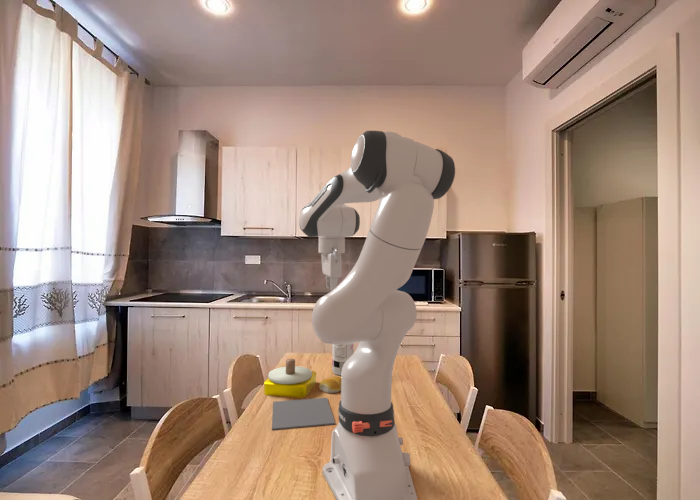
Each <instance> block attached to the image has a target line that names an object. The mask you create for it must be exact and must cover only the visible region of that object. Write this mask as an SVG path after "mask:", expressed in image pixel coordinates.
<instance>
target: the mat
mask: <svg viewBox="0 0 700 500" xmlns="http://www.w3.org/2000/svg"><path fill="white" fill-rule="evenodd" d="M271 417H272V419H271V420H272V423H271V430H272V431H274V430H276V431H277V430H287V429H288V430H289V429H297V428H308V427H319V426H321V427H322V426H331V425H336V421H335V418H334V415H333V412H332V409H331V407H330V403H329V400H328V397H318V398H317V397H315V398H303V399H302V398H300V399H290V400H289V399H288V400H278V401H275V400H274V401H272V416H271Z"/></svg>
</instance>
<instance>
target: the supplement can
mask: <svg viewBox="0 0 700 500" xmlns="http://www.w3.org/2000/svg"><path fill="white" fill-rule="evenodd" d="M353 354H354V343H353V344H347V345H343V344H332V362H331V363H332V367H331V368H332V370H331V371H332V373H333V374H335V376H339V377H340V376H341V371H342V367H343V365H344V363H345V362H346V361H347V359H349V358H350V357H351V356H352V355H353Z"/></svg>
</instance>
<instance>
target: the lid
mask: <svg viewBox="0 0 700 500" xmlns="http://www.w3.org/2000/svg"><path fill="white" fill-rule="evenodd" d="M312 371H313V370H311V369H310V368H308V367H305V366H298V365H297V366H296V359H295V358H287V359H285V366H282V367H276V368H275V369H272V370H270V371H269V372H268V374H267V375H268V377H267V379H269V380H270V381H272V382H274V383H279V384H296V383H301V382H304V381H307V380H309V379H310V378H311V377H312Z"/></svg>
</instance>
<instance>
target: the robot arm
mask: <svg viewBox="0 0 700 500" xmlns="http://www.w3.org/2000/svg"><path fill="white" fill-rule="evenodd" d="M455 177H456V165H455V161H454V159H453V157H452V156H451V155H449V154H448V153H446V152H445V151H443V150H441V149H439V148H436V149H435V148H433V147H431V146H429V145H426V144H424V143H421V142H418V141H415V140H414V139H412V138H409V137H407V136H406V137H405V136H402V135H401V134H398V133H396V132H393V131H381V130H366V131H364V132H363V133H362V134H361V135H360V136H359V137H358V138H357V140H356V142H355V144H354V145H353V148H352V151H351V156H350V167H349V168H347V169H346V170H344V171H343V172H341V173H339V174H337V175H335V176H333V177H331V179H329V180H328V181H327V183H326V184H324V186H323V188H321V190H320V191H319V192H318V193H317V194H316V195H315V196H314V198H313V199H312V200H311V202H308V203H307V204H306V205H305V206H304V207H303V208H302V209H301V211H300V214H299V222H298V224H299V228H300V230H301V232H302V233H303V234H304V235H306V237H308V238H318V254H320V258H321V270H322V274H323V275H325V282H326V284H325V285H326V288H327V289H330V292H327V293H326V294H325V295H323V296H321V297H320V298H318V300H316V303H315V304H314V307H313V308H312V309H313V310H312V312H311V325H312V328H313V331H314V333H315V334H316V335H315V336H317V338H318V339H319V340H321V342H323V343H325V344H328V345H329V344H332V345H333V344H343V345H347V344H353V345H354V344H357V343H358V345H357V346H356V349H355V351H353V355H352V356H351V357H350V358H349V359H347V361H346V362H345V363H344V365H343V367H342V371H341V377H340V378H341V391H340V401H339V404H338V411H337V412H338V423H337V425H336V426H335V427H334V429H333V430H332V431H331V441H330V461H329V462H327V463H325V464H323V467H322V474H323V476H324V478H325V481H327V482H326V483H327V484H328V486H329V488H330V489H331V491H332V493H333V495H334V497H335V500H418V496H417V493H416V489H415V485H414V481H413V479H412V474H411V472H410V471H411V470H410V468H409V466H411V456H410V455H411V454H410V453H409V452H403V451H402V448H401V446H402V445H404V440H403V437H399V435H398V434H399V432H398V429H397V428H398V426H397V424H396V421H395V410H394V404H393V402H392V386H393V385H392V382H393V372H394V371H393V370H394V365H395V361H396V357H397V354H398V351H399V349H400V347H401V345H402V342H403V340H404V338H405V336H406V335H407V333H408V332H409V331H411V329H412V328H413V327H414V325H415V323H416V321H417V315H418V312H417V305H416V303H415V301H414V299H413V298H412V296H411V295H410V294H409V293H407V292H405V291H402V290H399V289H400V288H401V287H403V286H404V285H405V284H406V283H407V282H408V281H409V279H410V278H411V275H412V273H413V270H414V268H415V265H416V263H417V261H418V258H419V256H420V253H421V250H422V249H423V247H424V243H425V241H426V238H427V235H428V232H429V229H430V226H431V222H432V218H433V213H434V207H435V200H440V199H441V198H442V197H444V196H445V195H446V194H447V193H448V192H449V190H450V189H451V188H452V185H453V183H454V181H455ZM378 200H379V202H378V206H377V209H376V212H375V213H374V216H373V218H372V221H371V224H370V227H369V230H368V232H367V235H366V238H365V241H364V244H363V245H362V249H361V251H360V254H359V257H358V259H357V260H356V262H355V264H354V265H353V267H352V269H351V270H350V272H348V274H347V275H346V276H345V278H343V280H342V281H341V282H340V283H339V284H338V280H339V278H341V277H342V274H343V273H342V272H343V271H342V270H343V269H342V265H343V264H342V254H345V253H346V238H350V237H353V236H354V235H356V234H357V233H358V231H359V230H360V226H361V225H360V224H361V223H360V222H361V221H360V220H361V219H360V215H359V212H358V211H357V210H356V208H354V207H352V206H349V205H346V204H354V203H355V204H359V203H361V204H363V203H373V202H376V201H378Z"/></svg>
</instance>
